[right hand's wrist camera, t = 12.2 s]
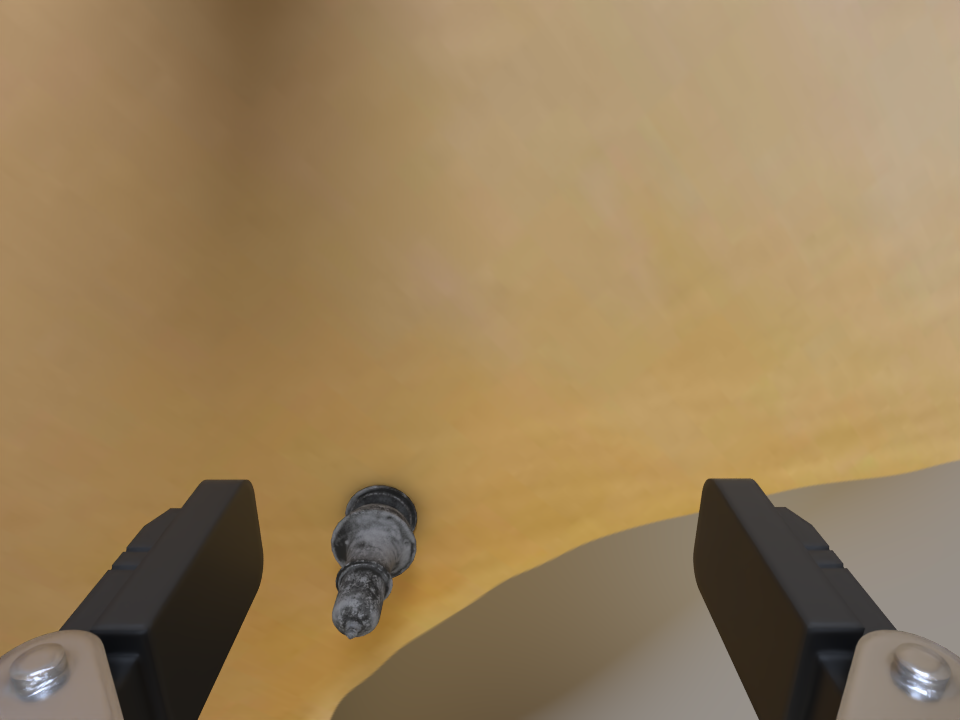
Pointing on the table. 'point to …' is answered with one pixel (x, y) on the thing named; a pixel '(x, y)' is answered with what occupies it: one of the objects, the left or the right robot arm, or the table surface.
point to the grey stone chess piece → (371, 555)
